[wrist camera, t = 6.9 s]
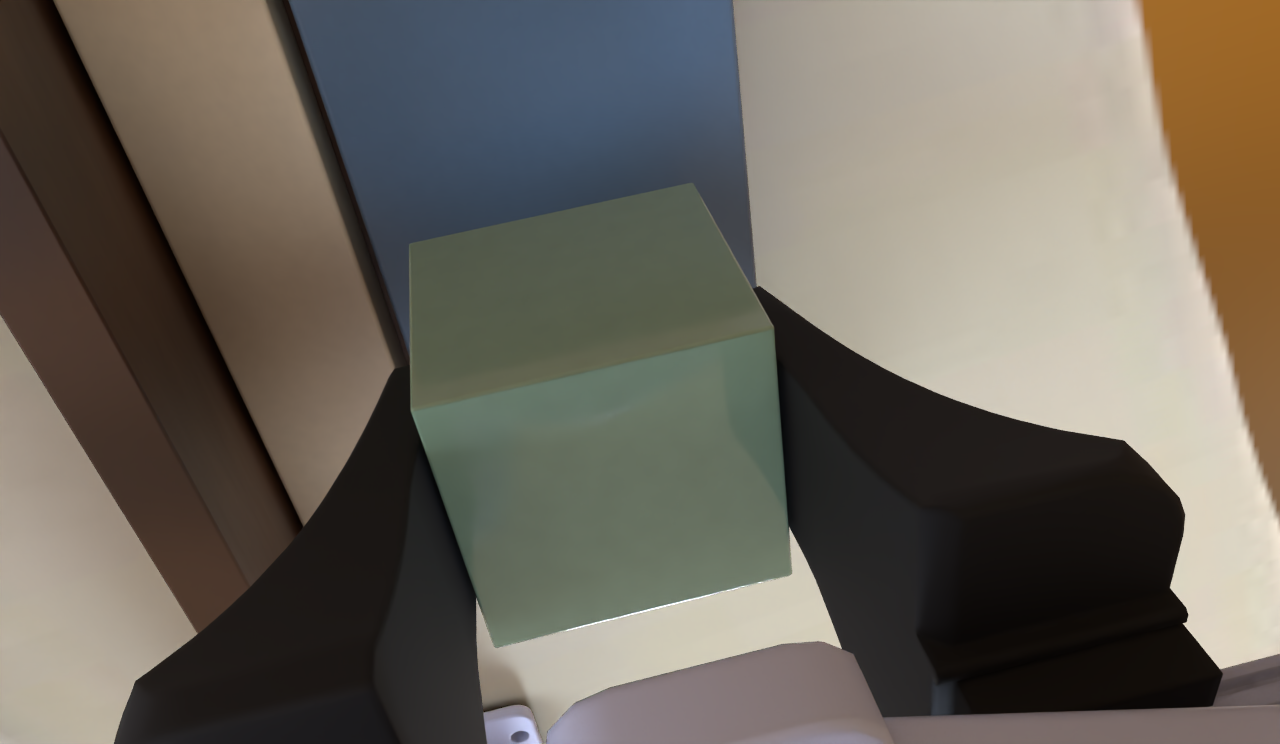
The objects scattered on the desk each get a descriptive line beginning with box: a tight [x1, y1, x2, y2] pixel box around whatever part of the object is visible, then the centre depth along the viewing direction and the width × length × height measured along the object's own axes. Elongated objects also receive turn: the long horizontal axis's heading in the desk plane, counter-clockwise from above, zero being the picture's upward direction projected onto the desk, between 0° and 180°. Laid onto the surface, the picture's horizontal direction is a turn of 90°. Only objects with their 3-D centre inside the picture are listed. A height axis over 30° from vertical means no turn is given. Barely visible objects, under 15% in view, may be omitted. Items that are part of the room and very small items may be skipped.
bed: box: [0, 0, 757, 633], centre depth 18 cm, size 13×11×6 cm
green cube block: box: [409, 183, 792, 648], centre depth 15 cm, size 4×4×4 cm
